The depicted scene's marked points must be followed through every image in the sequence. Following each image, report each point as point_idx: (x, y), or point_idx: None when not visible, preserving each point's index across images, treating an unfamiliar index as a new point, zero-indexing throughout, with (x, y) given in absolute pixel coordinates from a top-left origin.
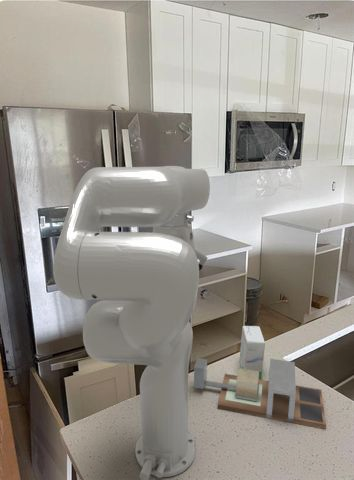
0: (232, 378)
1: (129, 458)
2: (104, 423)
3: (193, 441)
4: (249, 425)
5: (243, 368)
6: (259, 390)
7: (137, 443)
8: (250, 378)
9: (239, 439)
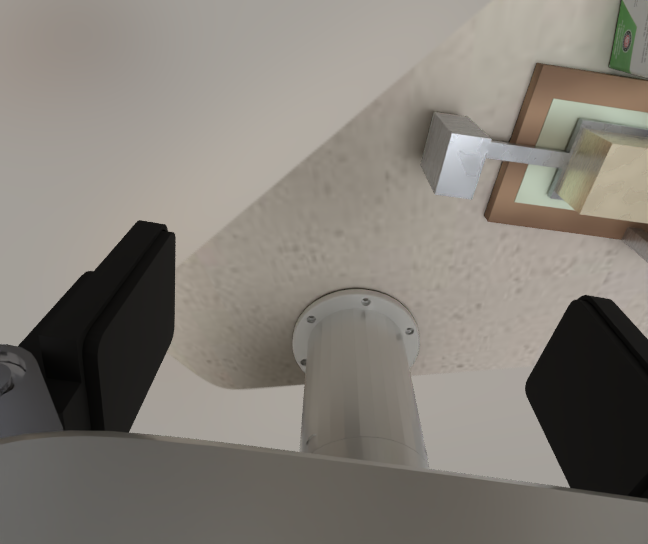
0: (565, 91)
1: (286, 358)
2: (196, 290)
3: (416, 332)
4: (558, 260)
5: (631, 46)
6: None
7: (295, 346)
8: (634, 198)
9: (521, 299)
